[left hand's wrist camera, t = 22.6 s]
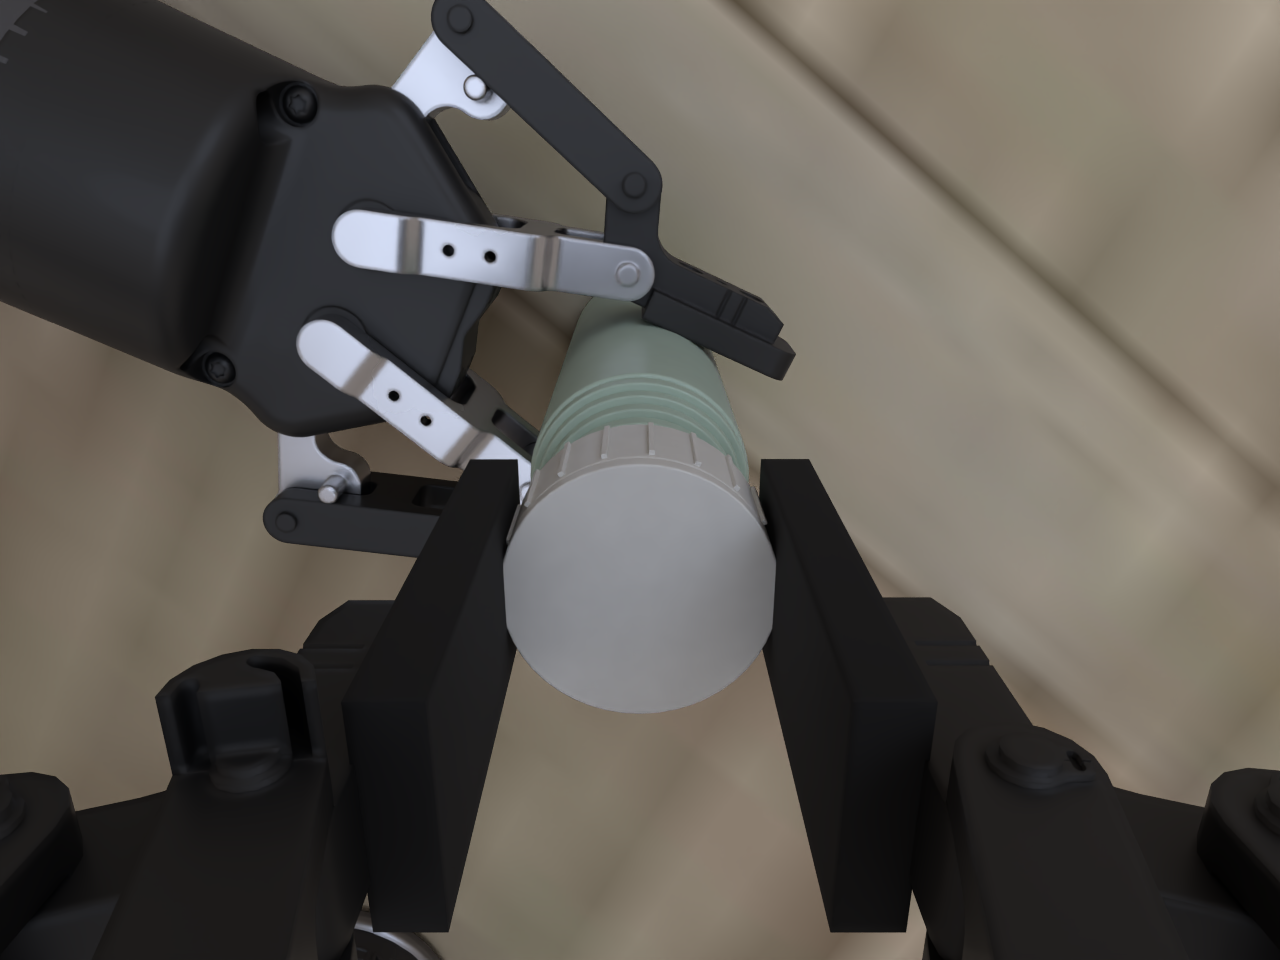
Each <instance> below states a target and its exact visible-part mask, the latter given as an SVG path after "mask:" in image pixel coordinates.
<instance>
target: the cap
mask: <svg viewBox="0 0 1280 960" xmlns="http://www.w3.org/2000/svg"><path fill="white" fill-rule="evenodd" d="M766 524H767V520H766V517H765V514H764V511H763V508H762V505H761V503H760V500H759V497H758V494H757V491H756V488H755V486H752V487H750V485H749V483H748V482H747V480H746V479H745V477H744V476H743V474H742V473H741V472H740V470H739V469H738V468H737V467H736V466H735V465H734V464H733V461H732V457H731V456H730V455H729V454H727V455H726V456H725V455H724V454H723V453H721V452H720V451H719V450H718V449H716V448H715V447H713V446H712V445H710V444H708V443H707V442H705V441H704V440H702V439H699V438H697V436H696V433H693V432H691V433H690V434H689V433H686V432H683V431H679V430H676V429H673V428H668V427H663V426H658V425H654V423H653V422H648V425H643V424H636V425H622V426H617V427H612V428H610V426H609V425H608V426H604V429H603V430H600V431H597V432H594V433H591V434H589V435H586V436H584V437H582V438H580V439H578V440H576V441H574V442H573V443H570V442H567V443H565V445H564V448H563V449H562V450H561V451H559V452H558V453H557V454H556V455H555V456H554V457H552V458H551V459H550V460H549V461H548V462H547V463H546V464H545V465H544V467H543V468H542V469H541V470H538V469H536V471H535V472H534V475H533V478H532V481H531V484H530V486H529V488H528V490H527V492H526V494H525V496H524V498H523V501H522V504H521V505H520V504H518V506H517V509H516V512H515V515H514V518H513V521H512V524H511V527H510V530H509V533H508V536H507V539H506V542H507V545H508V547H507V550H506V553H505V556H504V560H503V574H504V591H505V607H506V623H507V629H508V632H509V634H510V636H511V638H512V640H513V642H514V644H515V646H516V647H517V649H518V651H519V652H520V654H521V655H522V657H523V658H524V659H525V660H526V662H527V663H528V664H529V665H530V667H531V668H532V669H533V670H534V671H535V672H536V673H537V674H538V675H539V676H541V677H542V678H543V679H544V680H545V681H546V682H548V683H549V684H550V685H552V686H553V687H554V688H556V689H557V690H559V691H560V692H562V693H564V694H566V695H567V696H569V697H571V698H573V699H575V700H578V701H580V702H582V703H585V704H587V705H590V706H593V707H597V708H600V709H604V710H609V711H615V712H621V713H635V714H644V713H659V712H665V711H671V710H676V709H679V708H683V707H686V706H690V705H692V704H695V703H697V702H700V701H702V700H704V699H707V698H708V697H710V696H712V695H714V694H716V693H717V692H719V691H721V690H722V689H724V688H725V687H727V686H728V685H729V684H731V683H732V682H733V681H735V680H736V679H737V678H738V677H739V676H740V675H741V674H742V673H743V672H744V671H745V670H747V668H748V667H749V666H750V665H751V664H752V662H753V661H754V660H755V659H756V657H757V656H758V655H759V653H760V651H761V650H762V648H763V647H764V645H765V643H766V642H767V639H768V637H769V635H770V633H771V630H772V624H773V608H774V591H775V574H776V558H775V555H774V552H773V548H772V545H771V542H770V539H769V536H768V533H767V530H766V527H765V525H766Z"/></svg>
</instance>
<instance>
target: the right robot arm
mask: <svg viewBox="0 0 1280 960" xmlns="http://www.w3.org/2000/svg"><path fill="white" fill-rule="evenodd" d="M431 22H432V27H433V30H434V31H433V32H432V34H431V35H430V36H429V38H428V39H427V40H426V42H425V43H424V44H423V46H422V47H421V48H420V50H419V51H418V52H417V54H416V55H415V57H414V58H413V59H412V61H411V62H410V63H409V65H408V66H407V67H406V69H405V70H404V71H403V73H402V74H401V75H400V77H399V78H398V79H397V81H396V82H395V83H394V85H393V86H392V88H389V87H385V86H380V85H364V86H354V87H346V86H339V85H336V84H334V83H331V82H329V81H326V80H324V79H322V78H319V77H317V76H315V75H313V74H311V73H309V72H307V71H305V70H303V69H301V68H298V67H296V66H294V65H292V64H290V63H288V62H286V61H284V60H282V59H279V58H277V57H275V56H273V55H271V54H269V53H267V52H265V51H263V50H261V49H258V48H256V47H254V46H252V45H250V44H248V43H246V42H244V41H242V40H239V39H237V38H235V37H233V36H231V35H229V34H227V33H225V32H223V31H220V30H218V29H216V28H214V27H212V26H210V25H208V24H206V23H204V22H202V21H199V20H197V19H195V18H193V17H191V16H189V15H187V14H185V13H183V12H180V11H178V10H176V9H174V8H172V7H170V6H168V5H166V4H164V3H162V2H160V1H158V0H0V301H1V302H4V303H6V304H9V305H11V306H13V307H16V308H18V309H21V310H23V311H25V312H28V313H30V314H33V315H35V316H37V317H40V318H42V319H45V320H47V321H50V322H52V323H55V324H57V325H60V326H62V327H65V328H67V329H69V330H72V331H74V332H77V333H79V334H81V335H84V336H86V337H89V338H91V339H93V340H96V341H98V342H101V343H103V344H105V345H108V346H110V347H113V348H115V349H117V350H120V351H122V352H125V353H127V354H129V355H132V356H134V357H137V358H139V359H141V360H144V361H146V362H149V363H151V364H153V365H156V366H158V367H160V368H163V369H165V370H168V371H170V372H173V373H175V374H178V375H181V376H184V377H187V378H190V379H193V380H197V381H200V382H203V383H207V384H210V385H213V386H216V387H219V388H222V389H224V390H226V391H228V392H229V393H231V394H232V395H234V396H235V397H237V398H238V399H239V400H240V401H242V402H243V403H244V404H245V405H246V406H247V407H248V408H249V409H250V410H251V411H252V412H253V413H254V414H255V416H256V417H257V418H258V419H259V420H260V421H261V422H262V423H263V424H265V425H266V426H267V427H269V428H270V429H272V430H273V431H276V432H278V472H279V491H278V494H277V496H276V497H275V499H273V500H272V501H271V502H270V503H269V504H268V506H267V507H266V508H265V510H264V513H263V523H264V526H265V528H266V530H267V531H268V533H269V534H270V535H271V536H272V537H274V538H275V539H277V540H279V541H281V542H285V543H291V544H300V545H309V546H318V547H327V548H336V549H345V550H353V551H362V552H371V553H380V554H389V555H398V556H407V557H415V558H418V556H419V554H420V552H421V551H422V549H423V547H424V545H425V543H426V541H427V539H428V537H429V535H430V534H431V532H432V530H433V528H434V526H435V524H436V522H437V520H438V519H439V517H440V515H441V513H442V511H443V509H444V507H445V505H446V503H447V502H448V500H449V498H450V496H451V494H452V492H453V490H454V488H455V487H456V485H457V483H458V482H457V481H449V480H440V479H431V478H423V477H414V476H406V475H397V474H389V473H380V472H371V471H370V467H369V465H368V463H367V462H366V460H365V459H364V458H363V457H361V456H360V455H359V454H357V453H354V452H351V451H348V450H344V449H342V448H340V447H339V446H337V445H336V444H335V443H334V442H333V441H332V440H331V438H330V436H329V434H328V433H330V432H336V431H341V430H346V429H351V428H356V427H361V426H367V425H372V424H377V423H382V422H388V423H390V424H391V425H392V426H393V427H395V428H396V429H397V430H399V431H400V432H401V433H403V434H404V435H405V436H407V437H408V438H409V439H410V440H412V441H413V442H414V443H416V444H417V445H418V446H420V447H421V448H422V449H423V450H425V451H426V452H427V453H429V454H430V455H431V456H433V457H434V458H435V459H437V460H438V461H439V462H441V463H442V464H444V465H446V466H449V467H452V468H460V469H462V470H465V468H466V466H467V464H468V462H469V460H470V459H518V471H519V490H520V505H521V504H522V501H523V498H524V496H525V494H526V492H527V490H528V488H529V486H530V484H531V478H530V474H531V461H532V456H533V451H534V447H535V444H536V441H537V438H538V435H539V433H540V432H539V431H538V430H537V429H536V428H534V427H533V426H532V425H531V424H529V423H528V422H527V421H526V420H524V419H523V418H522V417H521V416H519V415H518V414H517V413H516V412H514V411H513V410H512V409H511V408H510V407H508V406H507V405H506V403H505V402H504V400H503V398H502V396H501V395H500V394H499V393H498V391H497V390H496V389H495V388H493V387H492V386H491V385H490V384H489V383H487V382H486V381H485V380H484V379H482V378H481V377H480V376H479V375H477V374H476V373H475V372H474V371H472V370H471V369H470V368H469V367H470V364H471V362H472V359H473V357H474V354H475V352H476V343H477V333H478V324H479V320H480V318H481V317H482V315H483V314H484V313H485V311H486V310H487V309H488V307H489V306H490V305H491V304H492V302H493V301H494V300H495V298H496V297H497V296H498V294H499V292H500V289H501V287H506V288H513V289H519V290H526V291H559V292H565V293H572V294H579V295H586V296H592V297H599V298H606V299H612V300H619V301H630V302H632V303H635V304H637V305H639V306H641V307H642V319H644V320H646V321H648V322H650V323H653V324H655V325H657V326H659V327H661V328H664V329H666V330H668V331H671V332H673V333H676V334H678V335H680V336H682V337H684V338H686V339H688V340H690V341H692V342H694V343H696V344H698V345H701V346H703V347H705V348H707V349H709V350H712V351H714V352H716V353H718V354H720V355H722V356H725V357H727V358H729V359H731V360H733V361H736V362H738V363H740V364H742V365H744V366H746V367H749V368H751V369H753V370H755V371H757V372H760V373H762V374H764V375H766V376H768V377H771V378H773V379H776V380H783V378H784V376H785V374H786V372H787V370H788V368H789V367H790V365H791V363H792V361H793V359H794V357H795V355H796V353H795V352H794V351H793V349H792V348H791V347H790V345H789V344H788V343H787V342H786V341H785V340H783V339H782V338H780V337H779V336H778V335H779V333H780V331H781V329H782V327H783V325H784V324H783V323H782V322H781V321H780V319H779V318H778V317H777V316H776V314H775V313H774V312H773V311H772V310H771V309H770V308H769V306H768V305H767V304H766V303H765V302H764V301H763V300H762V299H761V298H760V297H758V296H756V295H753V294H751V293H749V292H747V291H745V290H743V289H740V288H738V287H736V286H734V285H732V284H730V283H728V282H725V281H724V280H722V279H720V278H717V277H715V276H713V275H711V274H709V273H707V272H705V271H703V270H700V269H698V268H696V267H694V266H692V265H690V264H688V263H686V262H684V261H681V260H679V259H677V258H675V257H673V256H672V255H670V254H669V253H668V252H667V251H666V250H665V249H664V248H663V246H662V245H661V243H660V240H659V238H658V224H659V212H660V200H661V192H662V178H661V174H660V172H659V170H658V168H657V167H656V165H655V164H654V163H653V162H652V161H651V160H650V159H649V158H648V157H647V156H646V155H645V154H644V153H643V152H642V151H641V150H640V149H639V148H638V147H637V146H636V145H635V144H634V143H633V142H632V141H631V140H630V139H629V138H628V137H627V136H626V135H625V134H624V133H622V132H621V131H620V130H619V129H618V128H617V127H616V126H615V125H614V124H613V123H612V122H611V121H610V120H609V119H608V118H607V117H606V116H605V115H604V114H603V113H602V112H601V111H600V110H599V109H598V108H597V107H596V106H595V105H594V104H592V103H591V102H590V101H589V100H588V99H587V98H586V97H585V96H584V95H583V94H582V93H581V92H580V91H579V90H578V89H577V88H576V87H575V86H574V85H573V84H572V83H571V82H570V81H569V80H568V79H567V78H566V77H565V76H564V75H562V74H561V73H560V72H559V71H558V70H557V69H556V68H555V67H554V66H553V65H552V64H551V63H550V62H549V61H548V60H547V59H546V58H545V57H544V56H543V55H542V54H541V53H540V52H539V51H538V50H537V49H536V48H535V47H534V46H533V45H531V44H530V43H529V42H528V41H527V40H526V39H525V38H524V37H523V36H522V35H521V34H520V33H519V32H518V31H517V30H516V29H515V28H514V27H513V26H512V25H511V24H510V23H509V22H508V21H507V20H506V19H505V18H504V17H503V16H501V15H500V14H499V13H498V12H497V11H496V10H495V9H494V8H493V7H492V6H491V5H490V4H489V3H488V2H486V1H485V0H435V2H434V4H433V7H432V12H431ZM449 108H457V109H459V110H461V111H463V112H464V113H466V114H467V115H469V116H471V117H473V118H476V119H481V120H495V119H498V118H500V117H502V116H503V115H505V114H506V113H507V112H508V111H509V109H510V108H512V109H513V110H514V111H515V112H516V113H517V114H518V115H519V116H520V117H521V118H522V119H523V120H524V121H525V122H526V123H528V124H529V125H530V126H531V127H532V128H533V129H534V130H535V131H536V132H537V133H538V134H539V135H540V136H541V137H542V138H544V139H545V140H546V141H547V142H548V143H549V144H550V145H551V146H552V147H553V148H554V149H555V150H556V151H557V152H558V153H559V154H561V155H562V156H563V157H564V158H565V159H566V160H567V161H568V162H569V163H570V164H571V165H572V166H573V167H574V168H575V169H577V170H578V171H579V172H580V173H581V174H582V175H583V176H584V177H585V178H586V179H587V180H588V181H589V182H590V183H591V184H593V185H594V186H595V187H596V188H597V189H598V190H599V191H600V192H601V193H602V194H603V195H604V196H605V197H606V212H605V228H604V232H600V231H594V230H587V229H581V228H574V227H568V226H564V225H561V224H557V223H553V222H548V221H541V220H535V219H528V218H522V217H515V216H508V215H502V214H495V213H490V211H489V209H488V208H487V206H486V204H485V203H484V201H483V199H482V198H481V196H480V194H479V193H478V191H477V189H476V188H475V186H474V184H473V183H472V181H471V179H470V178H469V176H468V174H467V172H466V171H465V169H464V167H463V166H462V164H461V162H460V161H459V159H458V157H457V156H456V154H455V152H454V151H453V149H452V147H451V146H450V144H449V142H448V141H447V139H446V137H445V136H444V134H443V132H442V131H441V129H440V127H439V126H438V124H437V122H436V121H435V119H434V118H435V117H436V116H437V115H438V114H439V113H440V112H441V111H443V110H445V109H449ZM426 416H428V417H430V419H431V420H429V419H427V418H426ZM353 931H354V938H355V944H356V951H357V958H358V960H440V959H439V958H438V956H437V955H436V954H435V953H434V951H433V950H432V949H431V948H430V947H429V946H428V945H427V944H426V943H425V942H424V941H423V940H422V939H420V938H419V937H418V936H417V935H415V934H414V933H412V932H373V929H372V922H371V914H370V913H369V912H366V911H360V914H359V917H358V919H357V922H356V925H355V928H354V930H353Z"/></svg>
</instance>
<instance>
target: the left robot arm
mask: <svg viewBox="0 0 1280 960" xmlns="http://www.w3.org/2000/svg"><path fill="white" fill-rule="evenodd" d="M759 500H760V503H761V505H762V508H763V511H764V514H765V517H766V520H767V524H766V525H765V527H766V530H767V533H768V536H769V539H770V542H771V545H772V548H773V552H774V555H775V558H776V574H775V591H774V608H773V624H772V630H771V633H770V635H769V637H768V639H767V642H766V643H765V645H764V647H763V648H762V649H763V654H764V658H765V662H766V666H767V670H768V674H769V678H770V683H771V687H772V691H773V695H774V699H775V703H776V708H777V712H778V716H779V720H780V724H781V728H782V733H783V737H784V741H785V745H786V749H787V753H788V758H789V762H790V766H791V770H792V774H793V778H794V782H795V787H796V791H797V795H798V799H799V803H800V807H801V812H802V816H803V820H804V824H805V828H806V832H807V837H808V841H809V845H810V849H811V853H812V857H813V862H814V866H815V870H816V874H817V878H818V882H819V886H820V891H821V895H822V899H823V903H824V907H825V911H826V916H827V920H828V924H829V928H830V932H906V929H907V922H908V914H909V907H910V900H911V893H912V890H913V893H914V896H915V898H916V901H917V904H918V907H919V909H920V912H921V915H922V918H923V920H924V923H925V926H926V929H927V931H926V938H925V944H924V951H923V958H922V960H1280V771H1277V770H1266V769H1255V768H1245V769H1239V770H1234V771H1229V772H1224V773H1223V774H1222V775H1221V776H1220V777H1218V778H1217V779H1216V780H1215V781H1214V782H1213V783H1212V784H1211V786H1210V790H1209V794H1208V797H1207V801H1206V805H1205V808H1204V807H1199V806H1195V805H1190V804H1185V803H1180V802H1175V801H1171V800H1166V799H1161V798H1156V797H1152V796H1147V795H1142V794H1138V793H1134V792H1131V791H1127V790H1123V789H1120V788H1116V787H1113V786H1112V783H1111V781H1110V779H1109V777H1108V774H1107V773H1106V772H1105V770H1104V769H1103V768H1102V766H1101V765H1100V764H1099V762H1098V761H1097V760H1096V758H1095V757H1094V756H1093V755H1092V754H1090V753H1089V752H1088V751H1086V750H1085V749H1083V748H1082V747H1081V746H1079V745H1078V744H1076V743H1075V742H1074V741H1072V740H1071V739H1068V738H1066V737H1064V736H1061V735H1059V734H1057V733H1054V732H1052V731H1050V730H1047V729H1045V728H1042V727H1037V726H1033V725H1032V723H1031V722H1030V720H1029V719H1028V717H1027V716H1026V714H1025V713H1024V711H1023V710H1022V708H1021V707H1020V705H1019V704H1018V702H1017V701H1016V700H1015V698H1014V697H1013V695H1012V694H1011V692H1010V691H1009V689H1008V688H1007V686H1006V685H1005V683H1004V682H1003V680H1002V679H1001V677H1000V676H999V674H998V673H997V671H996V670H995V668H994V667H993V665H989V659H988V658H987V656H986V655H985V653H984V652H983V650H982V649H981V647H980V646H976V640H975V639H974V637H973V636H972V634H971V633H970V631H969V630H968V628H967V627H966V625H965V624H964V622H963V621H962V619H961V618H960V617H959V616H957V615H956V614H954V613H953V612H951V611H950V610H948V609H947V608H946V607H944V606H943V605H941V604H940V603H938V602H937V601H935V600H934V599H932V598H882V596H881V594H880V592H879V590H878V588H877V586H876V585H875V583H874V581H873V579H872V577H871V575H870V573H869V571H868V569H867V568H866V566H865V564H864V562H863V560H862V558H861V556H860V554H859V553H858V551H857V549H856V547H855V545H854V543H853V541H852V539H851V537H850V536H849V534H848V532H847V530H846V528H845V526H844V524H843V522H842V520H841V519H840V517H839V515H838V513H837V511H836V509H835V507H834V505H833V504H832V502H831V500H830V498H829V496H828V494H827V492H826V490H825V488H824V487H823V485H822V483H821V481H820V479H819V477H818V475H817V473H816V472H815V470H814V468H813V466H812V464H811V462H810V460H809V459H761V471H760V491H759ZM518 504H520V490H519V471H518V459H470V460H469V462H468V464H467V466H466V468H465V470H464V472H463V473H462V475H461V477H460V479H459V481H458V483H457V485H456V487H455V488H454V490H453V492H452V494H451V496H450V498H449V500H448V502H447V503H446V505H445V507H444V509H443V511H442V513H441V515H440V517H439V519H438V520H437V522H436V524H435V526H434V528H433V530H432V532H431V534H430V535H429V537H428V539H427V541H426V543H425V545H424V547H423V549H422V551H421V552H420V554H419V556H418V558H417V560H416V562H415V564H414V566H413V567H412V569H411V571H410V573H409V575H408V577H407V579H406V581H405V583H404V584H403V586H402V588H401V590H400V592H399V594H398V596H397V598H396V599H395V600H348V601H347V602H345V603H344V604H343V605H341V606H340V607H338V608H337V609H335V610H334V611H332V612H331V613H329V614H328V615H326V616H325V617H323V618H322V619H321V620H319V621H318V623H317V624H316V626H315V627H314V629H313V630H312V632H311V633H310V635H309V636H308V638H307V639H306V641H305V642H304V644H303V649H300V650H299V651H298V653H297V654H296V653H292V652H288V651H285V650H281V649H250V650H245V651H239V652H234V653H229V654H223V655H220V656H217V657H215V658H212V659H209V660H207V661H204V662H201V663H198V664H196V665H193V666H192V667H190V668H188V669H187V670H185V671H184V672H182V673H180V674H179V675H177V676H175V677H174V678H172V679H171V680H169V681H168V683H167V684H166V685H165V686H164V687H163V688H162V689H161V691H160V692H159V693H158V694H157V695H156V696H155V699H156V704H157V708H158V713H159V717H160V722H161V726H162V730H163V735H164V739H165V744H166V748H167V753H168V757H169V762H170V766H171V770H172V775H173V776H172V778H171V780H170V783H169V785H168V787H167V790H166V791H163V792H159V793H156V794H152V795H149V796H145V797H141V798H137V799H132V800H127V801H123V802H118V803H113V804H108V805H104V806H99V807H94V808H89V809H85V810H80V811H75V809H74V806H73V802H72V798H71V795H70V791H69V788H68V787H67V786H66V785H65V784H63V783H62V782H61V781H60V780H59V779H58V778H57V777H55V776H50V775H45V774H40V773H35V772H27V773H16V774H5V775H0V960H358V958H357V951H356V944H355V938H354V931H353V930H354V928H355V925H356V922H357V919H358V917H359V914H360V911H361V908H362V906H363V903H364V900H365V897H366V895H367V893H368V900H369V907H370V914H371V922H372V929H373V932H449V928H450V924H451V920H452V916H453V911H454V907H455V903H456V899H457V895H458V891H459V886H460V882H461V878H462V874H463V870H464V866H465V862H466V857H467V853H468V849H469V845H470V841H471V837H472V832H473V828H474V824H475V820H476V816H477V812H478V808H479V803H480V799H481V795H482V791H483V787H484V783H485V778H486V774H487V770H488V766H489V762H490V758H491V754H492V749H493V745H494V741H495V737H496V733H497V729H498V724H499V720H500V716H501V712H502V708H503V704H504V699H505V695H506V691H507V687H508V683H509V679H510V675H511V670H512V666H513V662H514V658H515V654H516V650H517V647H516V646H515V644H514V642H513V640H512V638H511V636H510V634H509V632H508V629H507V623H506V607H505V591H504V574H503V560H504V556H505V553H506V550H507V547H508V545H507V542H506V539H507V536H508V533H509V530H510V527H511V524H512V521H513V518H514V515H515V512H516V509H517V506H518Z"/></svg>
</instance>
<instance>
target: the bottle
mask: <svg viewBox="0 0 1280 960" xmlns="http://www.w3.org/2000/svg"><path fill="white" fill-rule="evenodd" d="M648 422H653V423H654V425H658V426H663V427H668V428H673V429H676V430H679V431H683V432H686V433H689V434H690V433H691V432H693V433H696V436H697V438H699V439H702V440H704V441H705V442H707V443H708V444H710V445H712V446H713V447H715V448H716V449H718V450H719V451H720V452H721V453H723V454H724V455H725V456H726V455H727V454H729V455H730V456H731V457H732V461H733V464H734V465H735V466H736V467H737V468H738V469H739V470H740V472H741V473H742V474H743V476H744V477H745V479H746V480H747V482H748V479H749V468H748V461H747V454H746V451H745V447H744V443H743V440H742V437H741V435H740V432H739V429H738V426H737V423H736V420H735V417H734V414H733V412H732V409H731V406H730V403H729V400H728V397H727V394H726V391H725V388H724V386H723V383H722V380H721V377H720V374H719V371H718V368H717V365H716V363H715V360H714V357H713V354H712V351H711V350H709V349H707V348H705V347H703V346H701V345H698V344H696V343H694V342H692V341H690V340H688V339H686V338H684V337H682V336H680V335H678V334H676V333H673V332H671V331H668V330H666V329H664V328H661V327H659V326H657V325H655V324H653V323H650V322H648V321H646V320H644V319H642V307H641V306H639V305H637V304H635V303H632V302H630V301H619V300H612V299H606V298H599V297H593V298H592V299H591V300H590V301H589V302H588V303H587V305H586V306H585V308H584V309H583V311H582V313H581V315H580V317H579V319H578V322H577V325H576V327H575V330H574V333H573V336H572V339H571V342H570V345H569V348H568V351H567V354H566V357H565V360H564V362H563V365H562V368H561V371H560V374H559V377H558V380H557V383H556V386H555V389H554V392H553V395H552V397H551V400H550V403H549V406H548V409H547V412H546V415H545V418H544V421H543V424H542V427H541V430H540V433H539V435H538V438H537V441H536V444H535V447H534V451H533V456H532V461H531V474H530V478H531V481H532V478H533V475H534V472H535V471H536V469H538V470H541V469H542V468H543V467H544V465H545V464H546V463H547V462H548V461H549V460H550V459H551V458H552V457H554V456H555V455H556V454H557V453H558V452H559V451H561V450H562V449H563V448H564V445H565V443H567V442H570V443H573V442H574V441H576V440H578V439H580V438H582V437H584V436H586V435H589V434H591V433H594V432H597V431H600V430H603V429H604V426H608V425H609V426H610V428H612V427H617V426H622V425H636V424H643V425H648Z"/></svg>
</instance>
